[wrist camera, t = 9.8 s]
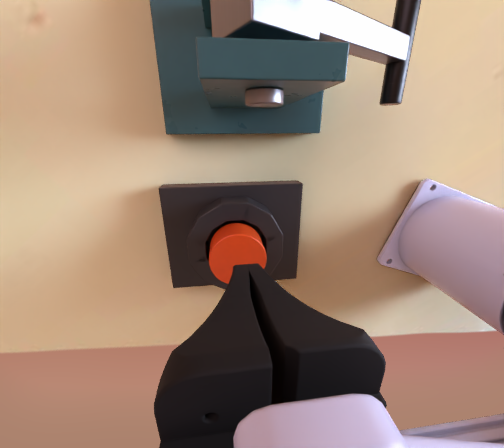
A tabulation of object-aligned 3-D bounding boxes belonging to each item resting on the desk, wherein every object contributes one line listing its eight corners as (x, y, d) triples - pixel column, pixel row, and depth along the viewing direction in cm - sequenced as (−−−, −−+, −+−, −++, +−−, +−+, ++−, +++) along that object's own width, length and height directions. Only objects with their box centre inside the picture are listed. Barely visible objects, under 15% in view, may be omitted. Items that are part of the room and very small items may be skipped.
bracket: (325, -10, 14) (506, -256, 5) (313, 133, 17) (418, 133, 8) (151, -22, 13) (1, -358, 4) (169, 134, 16) (105, 136, 7)
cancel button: (261, 221, 16) (267, 232, 14) (261, 267, 18) (266, 283, 16) (208, 223, 16) (206, 235, 14) (211, 270, 17) (210, 287, 15)
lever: (391, 4, 13) (443, -18, 11) (374, 106, 15) (417, 102, 13) (203, -101, 7) (250, -183, 5) (214, 91, 9) (251, 80, 7)
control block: (298, 180, 18) (311, 188, 16) (292, 271, 21) (303, 291, 18) (162, 184, 17) (151, 194, 14) (175, 279, 20) (168, 303, 17)
